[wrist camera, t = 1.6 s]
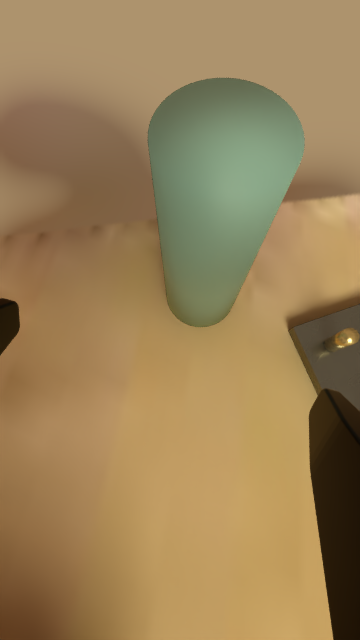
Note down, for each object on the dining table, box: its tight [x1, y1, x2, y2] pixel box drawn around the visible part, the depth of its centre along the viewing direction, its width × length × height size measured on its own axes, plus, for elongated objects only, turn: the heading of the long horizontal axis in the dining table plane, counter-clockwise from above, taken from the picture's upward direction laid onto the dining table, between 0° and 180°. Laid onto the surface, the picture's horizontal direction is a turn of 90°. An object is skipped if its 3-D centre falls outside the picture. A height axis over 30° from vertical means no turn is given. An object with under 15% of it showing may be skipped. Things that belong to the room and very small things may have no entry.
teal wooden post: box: [148, 78, 304, 327], centre depth 17 cm, size 5×5×14 cm
